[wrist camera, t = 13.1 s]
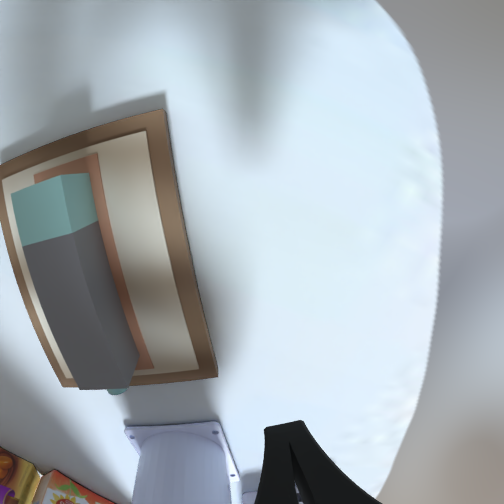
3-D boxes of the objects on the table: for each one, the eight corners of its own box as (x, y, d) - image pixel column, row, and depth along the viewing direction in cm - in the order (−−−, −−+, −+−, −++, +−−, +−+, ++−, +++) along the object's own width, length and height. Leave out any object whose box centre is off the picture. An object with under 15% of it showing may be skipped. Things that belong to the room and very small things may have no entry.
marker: (146, 370, 17) (136, 404, 14) (102, 373, 17) (88, 404, 14) (89, 172, 14) (60, 174, 11) (42, 187, 14) (10, 193, 11)
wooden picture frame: (217, 367, 19) (218, 379, 18) (67, 379, 18) (61, 389, 17) (166, 112, 15) (161, 107, 13) (0, 168, 14) (-11, 169, 13)
